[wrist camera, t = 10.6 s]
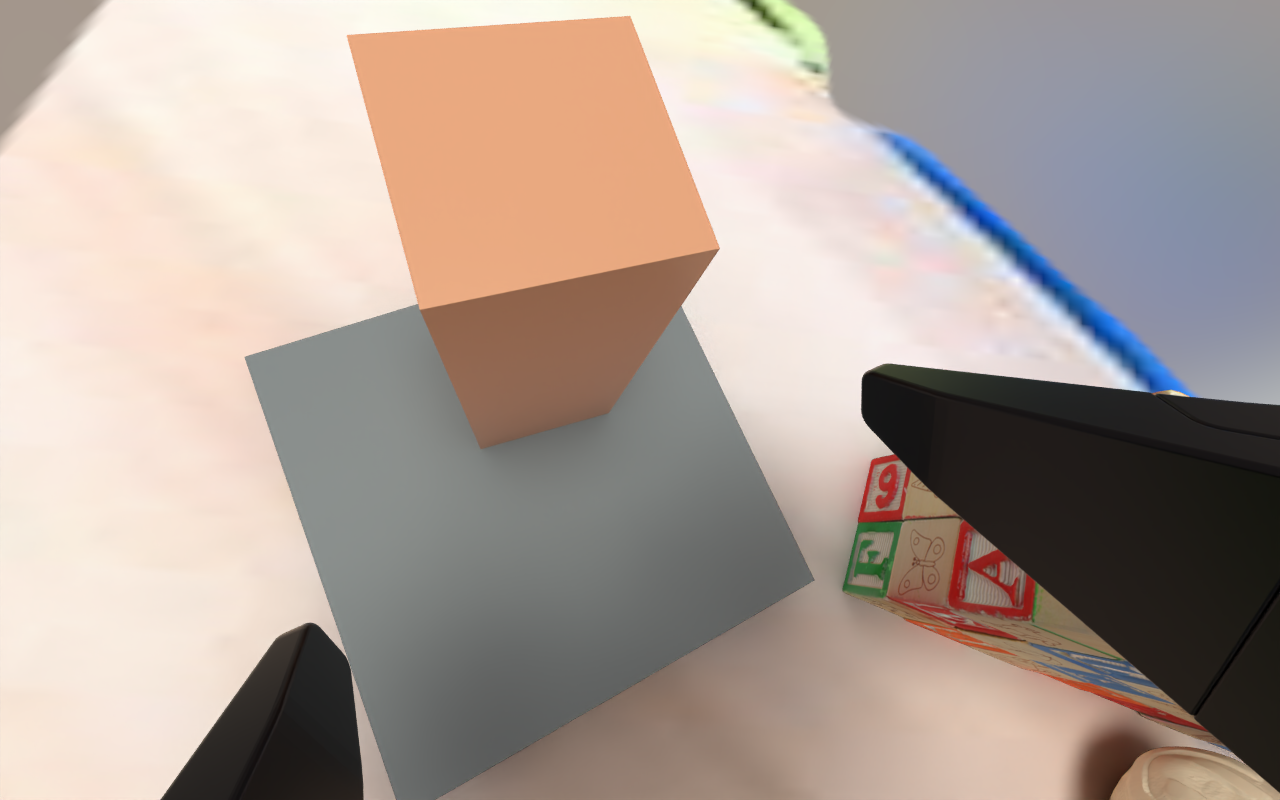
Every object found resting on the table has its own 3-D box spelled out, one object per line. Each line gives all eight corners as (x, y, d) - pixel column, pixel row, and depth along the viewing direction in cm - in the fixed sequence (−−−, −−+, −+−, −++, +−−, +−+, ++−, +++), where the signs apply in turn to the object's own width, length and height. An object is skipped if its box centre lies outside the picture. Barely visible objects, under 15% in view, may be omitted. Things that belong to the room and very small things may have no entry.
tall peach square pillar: (608, 412, 21) (719, 248, 9) (480, 449, 20) (419, 309, 8) (571, 298, 22) (629, 16, 10) (446, 325, 21) (346, 34, 9)
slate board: (799, 578, 22) (814, 580, 21) (410, 800, 18) (402, 818, 16) (640, 248, 25) (646, 234, 23) (260, 367, 20) (244, 357, 19)
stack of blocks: (1241, 621, 27) (1801, 682, 15) (1242, 758, 25) (1885, 951, 13) (867, 457, 25) (1179, 380, 13) (835, 593, 23) (1169, 648, 11)
